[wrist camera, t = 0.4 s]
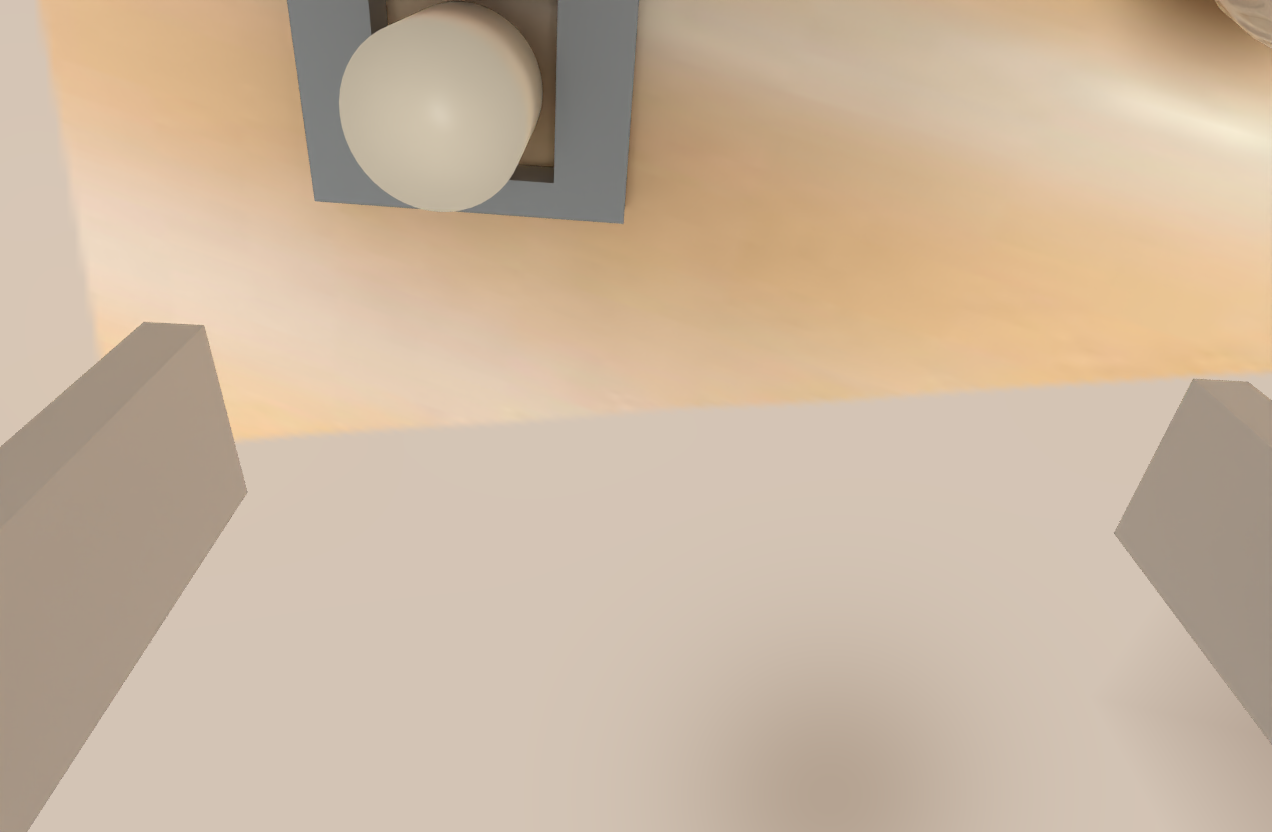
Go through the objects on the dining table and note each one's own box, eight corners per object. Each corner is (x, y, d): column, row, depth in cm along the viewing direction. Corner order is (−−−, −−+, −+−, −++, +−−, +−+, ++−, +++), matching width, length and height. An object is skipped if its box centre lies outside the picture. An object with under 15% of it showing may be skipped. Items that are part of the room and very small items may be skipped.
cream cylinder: (380, -6, 29) (327, 11, 24) (543, 8, 30) (525, 27, 25) (394, 159, 33) (349, 205, 28) (541, 171, 33) (524, 218, 28)
